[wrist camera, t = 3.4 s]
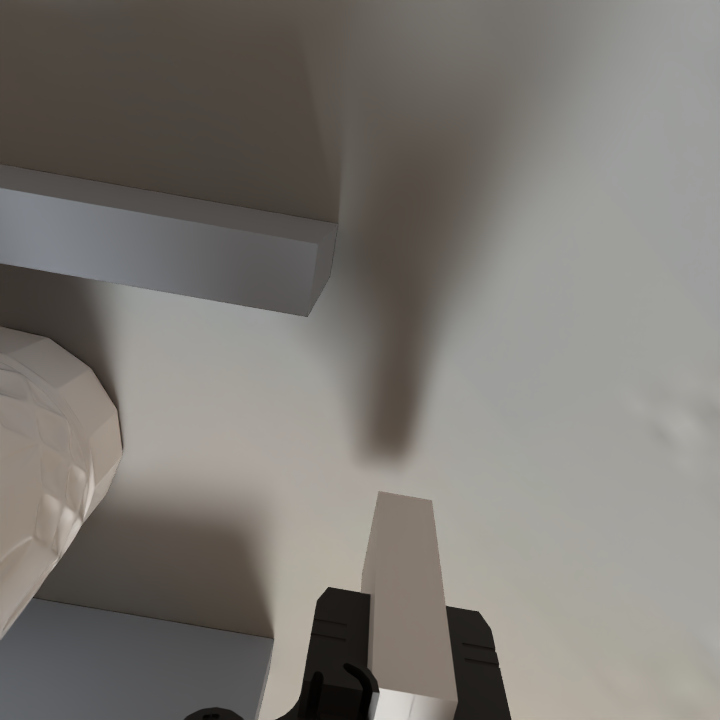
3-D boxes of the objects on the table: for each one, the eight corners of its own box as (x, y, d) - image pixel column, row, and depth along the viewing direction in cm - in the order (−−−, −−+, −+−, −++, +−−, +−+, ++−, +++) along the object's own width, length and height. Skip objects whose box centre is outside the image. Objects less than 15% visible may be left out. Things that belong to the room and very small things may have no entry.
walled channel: (-174, 597, 21) (-336, 720, 16) (-235, 122, 16) (-491, 101, 12) (269, 672, 21) (234, 816, 17) (338, 224, 16) (317, 244, 12)
